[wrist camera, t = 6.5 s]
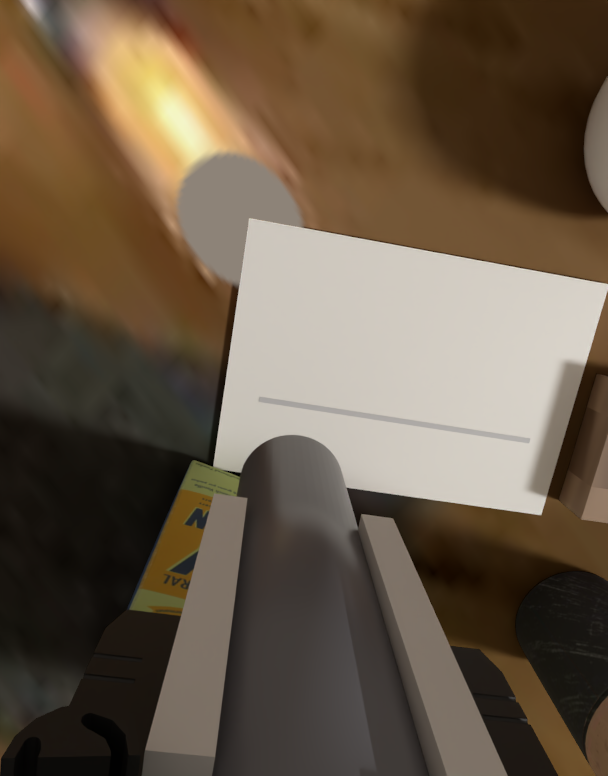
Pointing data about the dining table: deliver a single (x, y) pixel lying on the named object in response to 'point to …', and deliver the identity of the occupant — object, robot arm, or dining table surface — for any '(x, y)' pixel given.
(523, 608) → the travel mug
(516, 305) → the paper
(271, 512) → the marker
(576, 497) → the pen holder
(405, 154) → the dining table surface
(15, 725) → the dining table surface
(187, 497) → the protein box
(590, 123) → the lidded jar
